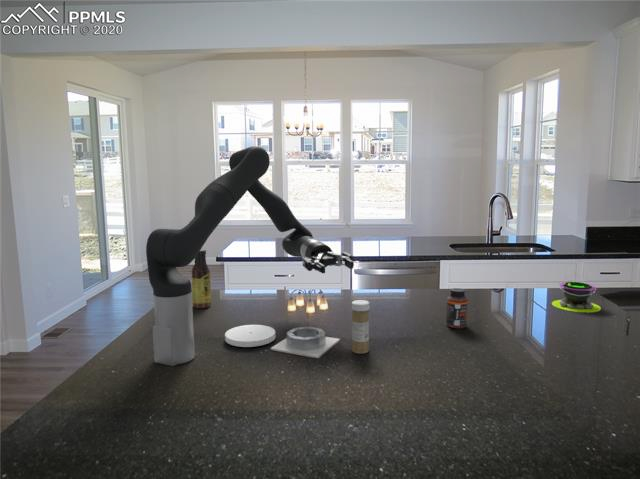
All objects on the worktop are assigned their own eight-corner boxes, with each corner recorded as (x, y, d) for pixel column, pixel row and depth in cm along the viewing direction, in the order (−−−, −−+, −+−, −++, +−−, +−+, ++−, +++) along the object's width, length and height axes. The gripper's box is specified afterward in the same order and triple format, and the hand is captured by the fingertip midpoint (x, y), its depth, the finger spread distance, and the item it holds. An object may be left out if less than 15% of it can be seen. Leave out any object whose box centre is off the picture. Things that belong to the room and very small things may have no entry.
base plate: (318, 358, 126) (318, 356, 126) (270, 349, 132) (270, 348, 132) (339, 340, 139) (340, 338, 139) (295, 333, 145) (295, 331, 145)
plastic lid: (214, 345, 137) (214, 336, 136) (245, 330, 149) (244, 322, 149) (256, 354, 130) (256, 344, 130) (284, 337, 143) (284, 328, 142)
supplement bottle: (462, 330, 146) (463, 293, 144) (442, 326, 150) (444, 290, 148) (469, 325, 151) (470, 289, 149) (450, 321, 154) (451, 286, 153)
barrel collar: (314, 352, 129) (314, 341, 128) (281, 346, 133) (281, 335, 133) (330, 340, 138) (330, 329, 137) (298, 335, 142) (298, 325, 141)
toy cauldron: (555, 310, 165) (557, 278, 163) (548, 299, 179) (550, 269, 178) (606, 314, 161) (608, 281, 159) (595, 302, 175) (597, 271, 173)
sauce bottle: (208, 309, 170) (206, 251, 167) (190, 309, 170) (187, 252, 167) (213, 303, 176) (211, 248, 173) (195, 303, 176) (193, 248, 173)
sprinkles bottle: (360, 346, 134) (360, 298, 132) (372, 351, 130) (373, 302, 128) (348, 350, 131) (348, 301, 129) (360, 356, 128) (360, 305, 126)
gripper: (293, 244, 149) (314, 258, 135) (336, 238, 154) (361, 251, 140) (294, 268, 151) (315, 284, 136) (337, 261, 156) (361, 276, 142)
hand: (338, 267), depth 138 cm, fingers open, 8 cm apart
